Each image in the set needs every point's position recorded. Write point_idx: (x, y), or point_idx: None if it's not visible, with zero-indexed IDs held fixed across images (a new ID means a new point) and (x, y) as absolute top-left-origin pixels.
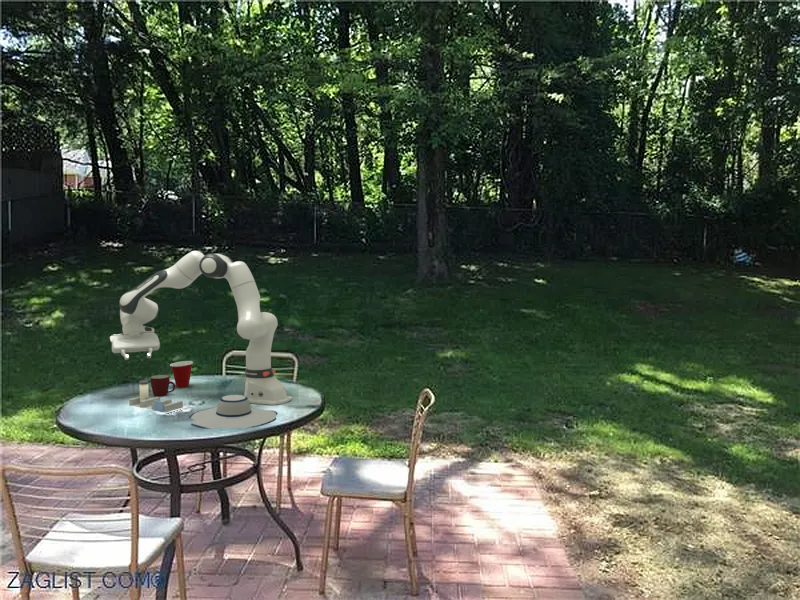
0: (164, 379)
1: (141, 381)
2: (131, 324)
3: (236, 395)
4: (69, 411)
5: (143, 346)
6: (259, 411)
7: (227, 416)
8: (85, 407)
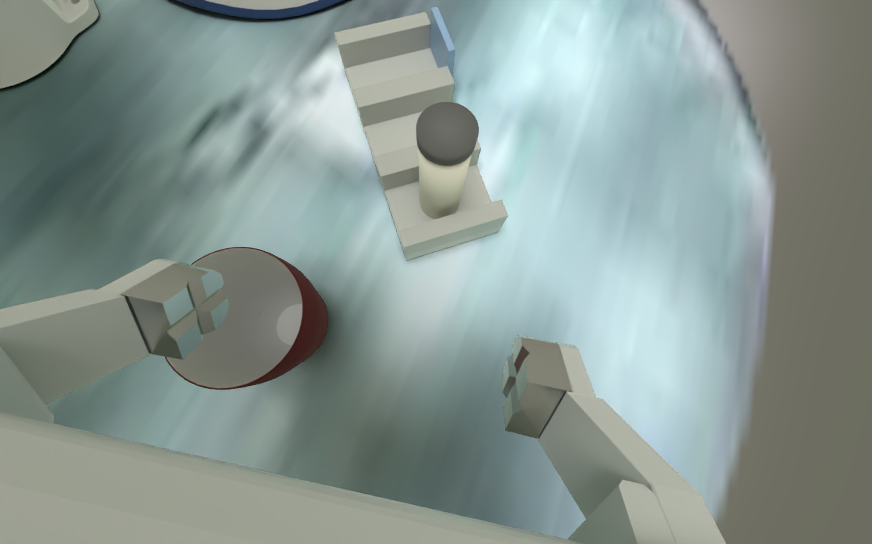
0: (242, 249)
1: (463, 128)
2: None
3: None
4: (733, 363)
5: (2, 436)
6: None
7: None
8: (656, 393)
